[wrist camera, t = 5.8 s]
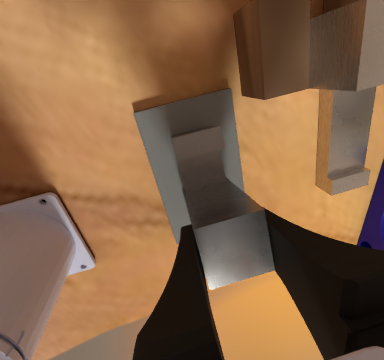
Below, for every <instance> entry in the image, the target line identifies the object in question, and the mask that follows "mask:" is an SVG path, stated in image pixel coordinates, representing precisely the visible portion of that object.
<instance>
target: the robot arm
mask: <svg viewBox="0 0 384 360" xmlns="http://www.w3.org/2000/svg"><path fill="white" fill-rule="evenodd" d="M41 199H44V200H46V202H42V201H41ZM262 208H263V207H262ZM264 210H265V216H266V222H267V227H268V233H269V239H270V245H271V251H272V256H273V262H274V268H275V271H276V273H277V274H278V275H279V277H280V278H281V280H282V281H283V283H284V285H285V286H286V288H287V290H288V291H289V293H290V295H291V297H292V299H293V300H294V302H295V304H296V306H297V308H298V310H299V312H300V313H301V315H302V317H303V319H304V321H305V323H306V325H307V327H308V329H309V330H310V332H311V334H312V336H313V338H314V340H315V342H316V344H317V346H318V348H319V350H320V352H321V354H322V356H323V358H324V360H384V251H383V250H377V249H371V248H366V247H362V246H358V245H353V244H349V243H345V242H342V241H338V240H335V239H332V238H328V237H325V236H322V235H320V234H317V233H314V232H312V231H309V230H307V229H304V228H302V227H300V226H297V225H295V224H293V223H291V222H289V221H287V220H285V219H283V218H281V217H279V216H277V215H276V214H274V213H272V212H270V211H268V210H267V209H265V208H264ZM95 263H96V261H95V259H94V257H93V256H92V254H91V252H90V251H89V249H88V247H87V245H86V244H85V242H84V240H83V239H82V237H81V235H80V234H79V232H78V230H77V228H76V227H75V225H74V223H73V222H72V220H71V218H70V216H69V215H68V213H67V211H66V210H65V208H64V206H63V204H62V203H61V201H60V199H59V198H58V196H57V195H56V194H55V193H52V192H48V193H44V194H41V195H37V196H33V197H30V198H26V199H22V200H19V201H15V202H11V203H7V204H4V205H0V360H32V358H33V355H34V353H35V351H36V348H37V346H38V343H39V341H40V339H41V336H42V334H43V332H44V329H45V327H46V325H47V322H48V320H49V317H50V315H51V313H52V310H53V308H54V306H55V303H56V301H57V299H58V296H59V294H60V291H61V289H62V287H63V284H64V282H65V280H66V277H67V276H68V275H72V274H75V273H78V272H82V271H85V270H88V269H92V268H94V266H95ZM84 265H86V266H84ZM133 360H224V356H223V352H222V348H221V345H220V341H219V337H218V333H217V330H216V326H215V322H214V319H213V315H212V311H211V307H210V302H209V297H208V291H207V285H206V279H205V274H204V268H203V264H202V260H201V257H200V253H199V249H198V246H197V242H196V239H195V235H194V231H193V228H192V224H190V225H186V226H183V227H181V229H180V241H179V246H178V251H177V255H176V259H175V262H174V266H173V269H172V272H171V275H170V277H169V280H168V282H167V284H166V287H165V289H164V291H163V293H162V295H161V297H160V299H159V301H158V303H157V305H156V306H155V308H154V310H153V312H152V314H151V315H150V317H149V319H148V320H147V322H146V323H145V325H144V326H143V328H142V329H141V331H140V332H139V334H138V335H137V339H136V343H135V348H134V355H133Z"/></svg>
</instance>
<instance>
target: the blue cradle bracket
mask: <svg viewBox="0 0 384 360" xmlns="http://www.w3.org/2000/svg"><path fill="white" fill-rule="evenodd" d="M357 245H358V246H362V247H366V248H371V249H377V250H383V251H384V161H383V164H382V167H381V170H380V174H379V177H378V180H377V183H376V186H375V190H374V193H373V196H372V199H371V202H370V206H369V209H368V212H367V215H366V218H365V222H364V225H363V228H362V231H361V234H360V238H359V241H358V244H357Z"/></svg>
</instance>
